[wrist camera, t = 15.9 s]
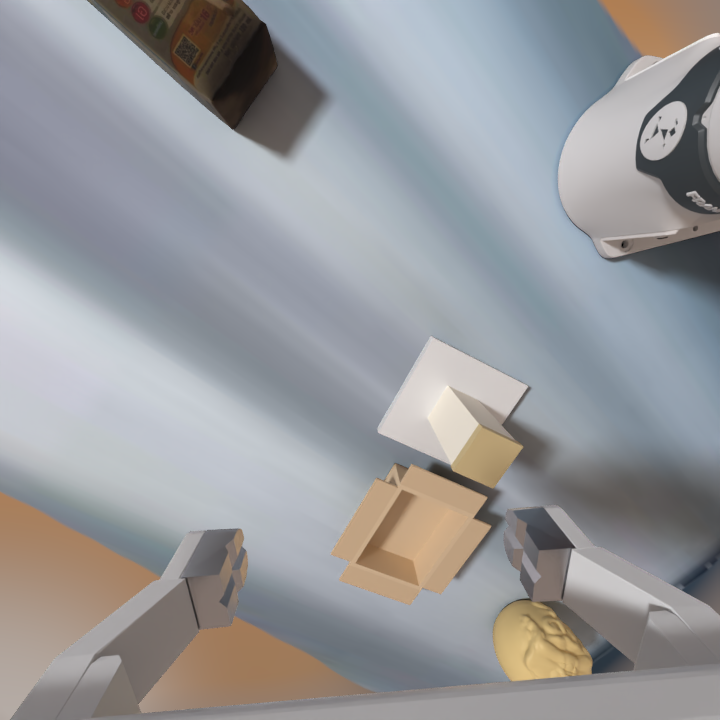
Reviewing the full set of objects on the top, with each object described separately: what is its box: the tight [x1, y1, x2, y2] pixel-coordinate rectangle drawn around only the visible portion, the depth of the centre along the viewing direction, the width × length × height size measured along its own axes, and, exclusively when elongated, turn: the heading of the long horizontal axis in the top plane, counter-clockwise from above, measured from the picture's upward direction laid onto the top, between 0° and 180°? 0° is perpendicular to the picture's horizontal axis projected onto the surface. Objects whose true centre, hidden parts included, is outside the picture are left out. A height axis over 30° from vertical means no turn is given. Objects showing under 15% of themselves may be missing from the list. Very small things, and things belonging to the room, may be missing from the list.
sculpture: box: [493, 600, 592, 681], centre depth 50 cm, size 11×12×11 cm
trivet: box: [377, 336, 528, 465], centre depth 43 cm, size 14×14×1 cm
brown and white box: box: [428, 386, 523, 488], centre depth 37 cm, size 5×5×11 cm
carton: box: [331, 463, 492, 605], centre depth 46 cm, size 17×20×4 cm
